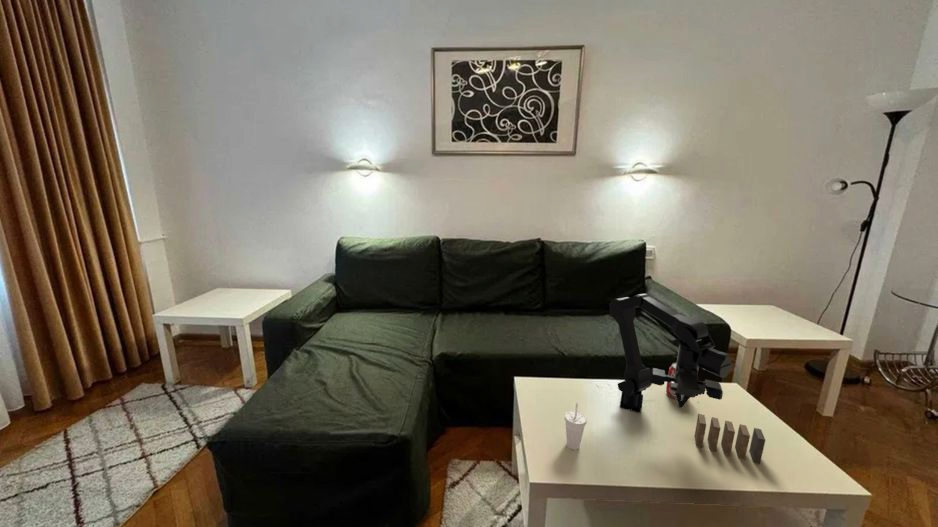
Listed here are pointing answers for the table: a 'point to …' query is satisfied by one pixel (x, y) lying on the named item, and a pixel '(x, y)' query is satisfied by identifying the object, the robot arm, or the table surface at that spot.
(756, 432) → the domino
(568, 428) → the smoothie
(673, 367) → the soda can
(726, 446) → the domino
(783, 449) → the table surface
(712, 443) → the domino
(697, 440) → the domino
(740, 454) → the domino
